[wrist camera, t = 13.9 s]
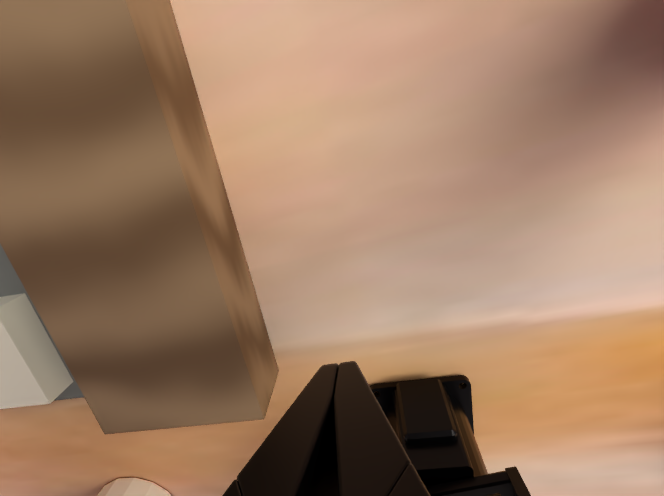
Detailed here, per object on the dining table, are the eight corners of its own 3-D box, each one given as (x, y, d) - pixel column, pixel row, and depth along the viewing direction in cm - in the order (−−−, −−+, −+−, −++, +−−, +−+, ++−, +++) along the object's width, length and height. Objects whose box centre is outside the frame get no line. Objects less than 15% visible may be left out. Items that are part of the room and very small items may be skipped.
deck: (278, 370, 24) (264, 419, 20) (142, 386, 25) (104, 434, 21) (165, -15, 16) (107, -55, 12) (-23, 34, 17) (-127, 12, 14)
